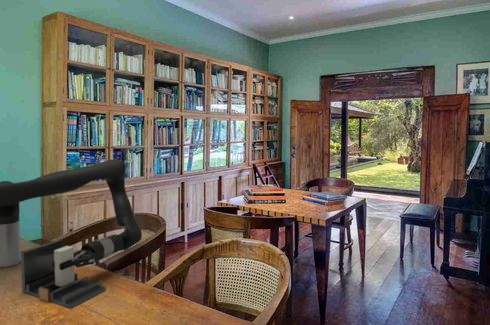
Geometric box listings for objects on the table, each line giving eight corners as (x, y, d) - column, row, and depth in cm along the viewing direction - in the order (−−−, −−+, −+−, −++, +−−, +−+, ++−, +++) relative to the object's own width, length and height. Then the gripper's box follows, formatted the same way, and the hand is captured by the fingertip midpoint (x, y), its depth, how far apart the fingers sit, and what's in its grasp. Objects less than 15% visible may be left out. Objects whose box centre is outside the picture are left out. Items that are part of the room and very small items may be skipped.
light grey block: (55, 284, 118) (54, 250, 117) (68, 279, 123) (67, 245, 121) (61, 286, 117) (60, 251, 115) (74, 280, 121) (73, 247, 120)
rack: (20, 292, 118) (18, 252, 116) (59, 276, 131) (58, 239, 130) (69, 309, 108) (68, 265, 107) (106, 290, 121) (105, 250, 120)
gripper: (84, 237, 134) (41, 251, 119) (111, 243, 129) (70, 258, 113) (84, 256, 135) (42, 273, 120) (112, 263, 129) (71, 281, 114)
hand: (56, 266), depth 116 cm, fingers closed on light grey block, 3 cm apart
